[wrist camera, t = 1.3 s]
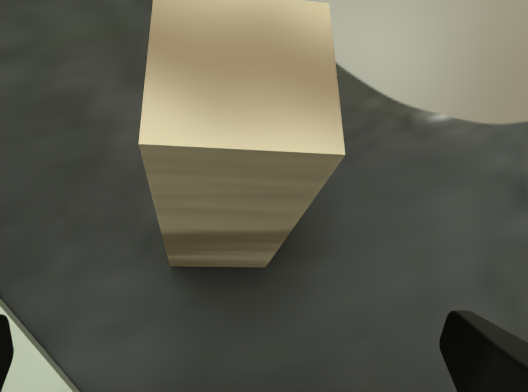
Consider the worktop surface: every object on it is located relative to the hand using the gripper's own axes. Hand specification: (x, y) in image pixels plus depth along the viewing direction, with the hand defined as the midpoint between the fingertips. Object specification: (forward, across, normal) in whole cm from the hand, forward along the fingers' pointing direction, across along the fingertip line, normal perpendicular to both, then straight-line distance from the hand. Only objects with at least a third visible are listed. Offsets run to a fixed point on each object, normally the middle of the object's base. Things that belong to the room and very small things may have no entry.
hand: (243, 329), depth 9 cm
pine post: (+14, 0, +4) cm, 15 cm away
